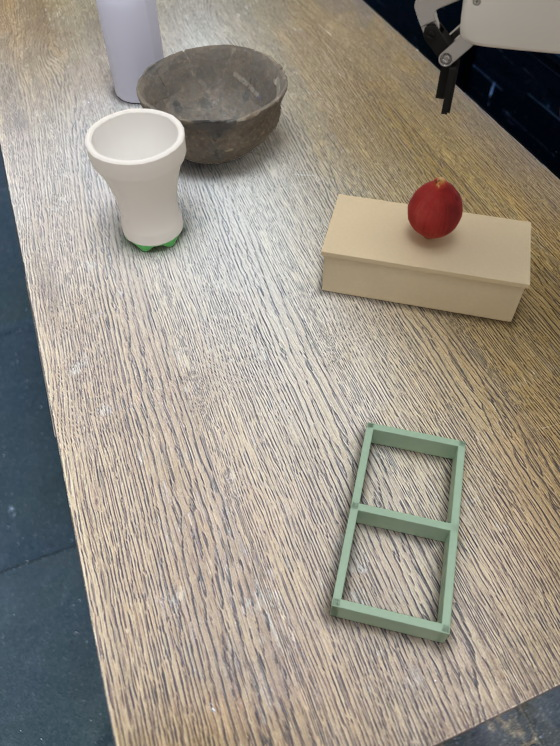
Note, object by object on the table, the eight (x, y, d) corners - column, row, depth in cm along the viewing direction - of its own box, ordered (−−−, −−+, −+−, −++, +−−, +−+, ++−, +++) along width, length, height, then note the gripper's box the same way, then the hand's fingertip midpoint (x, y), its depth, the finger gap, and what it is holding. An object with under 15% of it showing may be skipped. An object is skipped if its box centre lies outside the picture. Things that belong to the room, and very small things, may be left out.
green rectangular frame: (460, 454, 63) (466, 441, 61) (443, 643, 52) (449, 634, 50) (364, 435, 65) (367, 421, 63) (329, 615, 54) (331, 605, 52)
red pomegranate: (426, 213, 76) (439, 153, 70) (465, 238, 73) (482, 177, 67) (392, 235, 74) (402, 175, 67) (431, 261, 71) (446, 201, 65)
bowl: (197, 95, 104) (190, 31, 97) (311, 128, 98) (314, 63, 90) (118, 162, 93) (103, 96, 85) (242, 204, 87) (238, 137, 79)
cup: (147, 276, 79) (125, 176, 68) (93, 234, 84) (63, 135, 72) (216, 232, 84) (205, 132, 73) (160, 195, 88) (142, 96, 77)
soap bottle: (124, 73, 109) (90, -95, 90) (176, 80, 107) (153, -89, 88) (102, 99, 104) (61, -73, 85) (156, 107, 102) (127, -66, 83)
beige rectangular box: (515, 262, 80) (531, 221, 75) (513, 324, 74) (530, 284, 69) (335, 234, 83) (338, 193, 78) (318, 291, 77) (321, 251, 72)
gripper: (710, -149, 42) (609, 102, 55) (440, -161, 45) (407, 80, 58) (729, -113, 38) (615, 150, 51) (429, -129, 40) (395, 124, 54)
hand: (504, 112), depth 55 cm, fingers open, 9 cm apart
